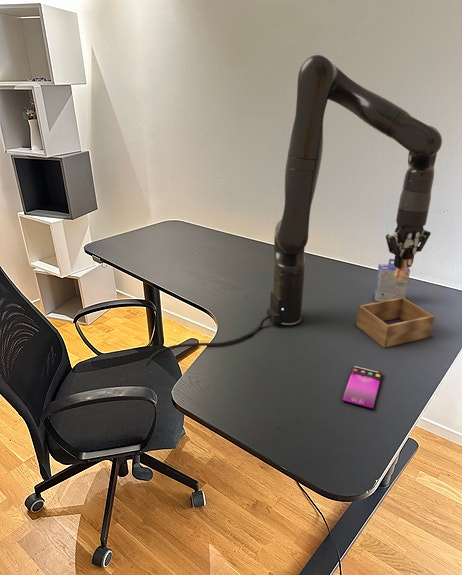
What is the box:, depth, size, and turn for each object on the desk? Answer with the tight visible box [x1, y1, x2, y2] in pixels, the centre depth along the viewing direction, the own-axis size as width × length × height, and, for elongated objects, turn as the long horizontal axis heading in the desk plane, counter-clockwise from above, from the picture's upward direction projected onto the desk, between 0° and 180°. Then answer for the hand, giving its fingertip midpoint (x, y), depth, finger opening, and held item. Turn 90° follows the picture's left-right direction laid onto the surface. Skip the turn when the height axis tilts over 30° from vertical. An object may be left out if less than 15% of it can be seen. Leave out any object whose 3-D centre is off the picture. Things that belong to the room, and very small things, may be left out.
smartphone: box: [341, 365, 383, 410], centre depth 109 cm, size 7×15×1 cm, turn 155°
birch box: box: [355, 297, 435, 348], centre depth 133 cm, size 17×14×7 cm
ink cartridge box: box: [374, 258, 411, 302], centre depth 151 cm, size 10×6×14 cm, turn 79°
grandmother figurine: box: [393, 240, 414, 281], centre depth 122 cm, size 8×4×13 cm, turn 15°
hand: (402, 266), depth 123 cm, fingers closed on grandmother figurine, 3 cm apart
